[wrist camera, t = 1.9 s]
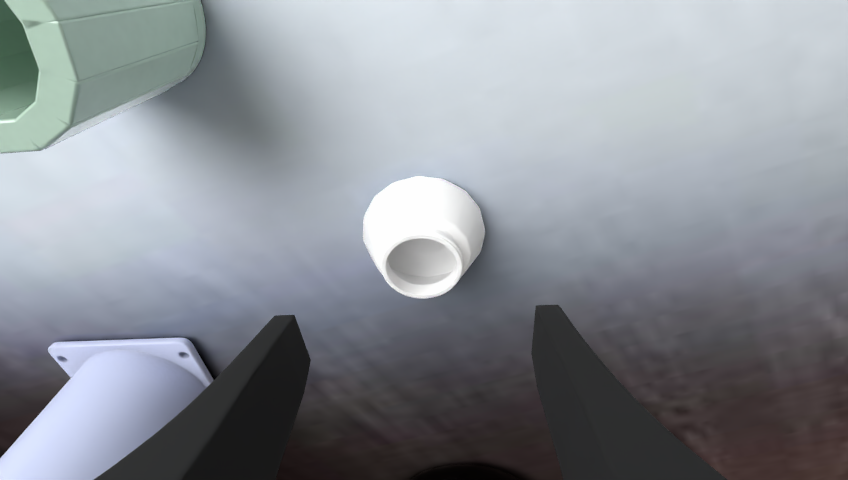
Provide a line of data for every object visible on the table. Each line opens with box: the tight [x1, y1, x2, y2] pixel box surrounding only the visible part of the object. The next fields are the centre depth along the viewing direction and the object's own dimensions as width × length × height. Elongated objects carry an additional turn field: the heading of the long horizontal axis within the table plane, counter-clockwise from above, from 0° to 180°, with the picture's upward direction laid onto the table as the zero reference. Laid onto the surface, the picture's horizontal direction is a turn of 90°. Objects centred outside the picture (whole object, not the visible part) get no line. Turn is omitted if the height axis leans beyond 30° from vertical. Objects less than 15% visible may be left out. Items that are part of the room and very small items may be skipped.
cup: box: [0, 0, 206, 154], centre depth 11 cm, size 5×5×6 cm
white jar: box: [363, 176, 485, 298], centre depth 16 cm, size 5×3×5 cm
